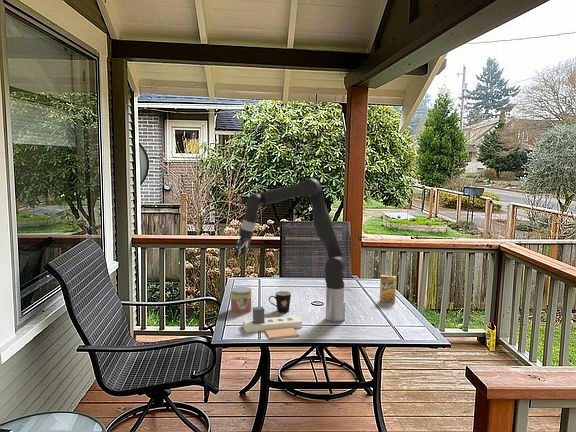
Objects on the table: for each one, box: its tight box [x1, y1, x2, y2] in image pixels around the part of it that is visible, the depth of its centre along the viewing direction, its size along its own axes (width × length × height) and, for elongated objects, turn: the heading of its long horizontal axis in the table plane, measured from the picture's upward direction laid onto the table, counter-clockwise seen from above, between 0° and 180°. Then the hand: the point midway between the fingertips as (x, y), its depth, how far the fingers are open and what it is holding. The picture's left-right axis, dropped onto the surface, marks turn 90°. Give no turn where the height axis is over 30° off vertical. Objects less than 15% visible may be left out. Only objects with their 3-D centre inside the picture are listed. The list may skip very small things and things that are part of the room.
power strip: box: [242, 315, 303, 333], centre depth 222 cm, size 28×9×3 cm, turn 105°
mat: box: [264, 327, 299, 340], centre depth 213 cm, size 14×10×1 cm
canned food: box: [230, 286, 252, 315], centre depth 246 cm, size 11×11×12 cm
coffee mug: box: [268, 290, 292, 314], centre depth 246 cm, size 12×9×10 cm
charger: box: [252, 306, 265, 324], centre depth 220 cm, size 5×4×10 cm
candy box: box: [379, 274, 397, 304], centre depth 265 cm, size 9×4×15 cm, turn 72°
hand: (239, 255), depth 249 cm, fingers open, 8 cm apart
